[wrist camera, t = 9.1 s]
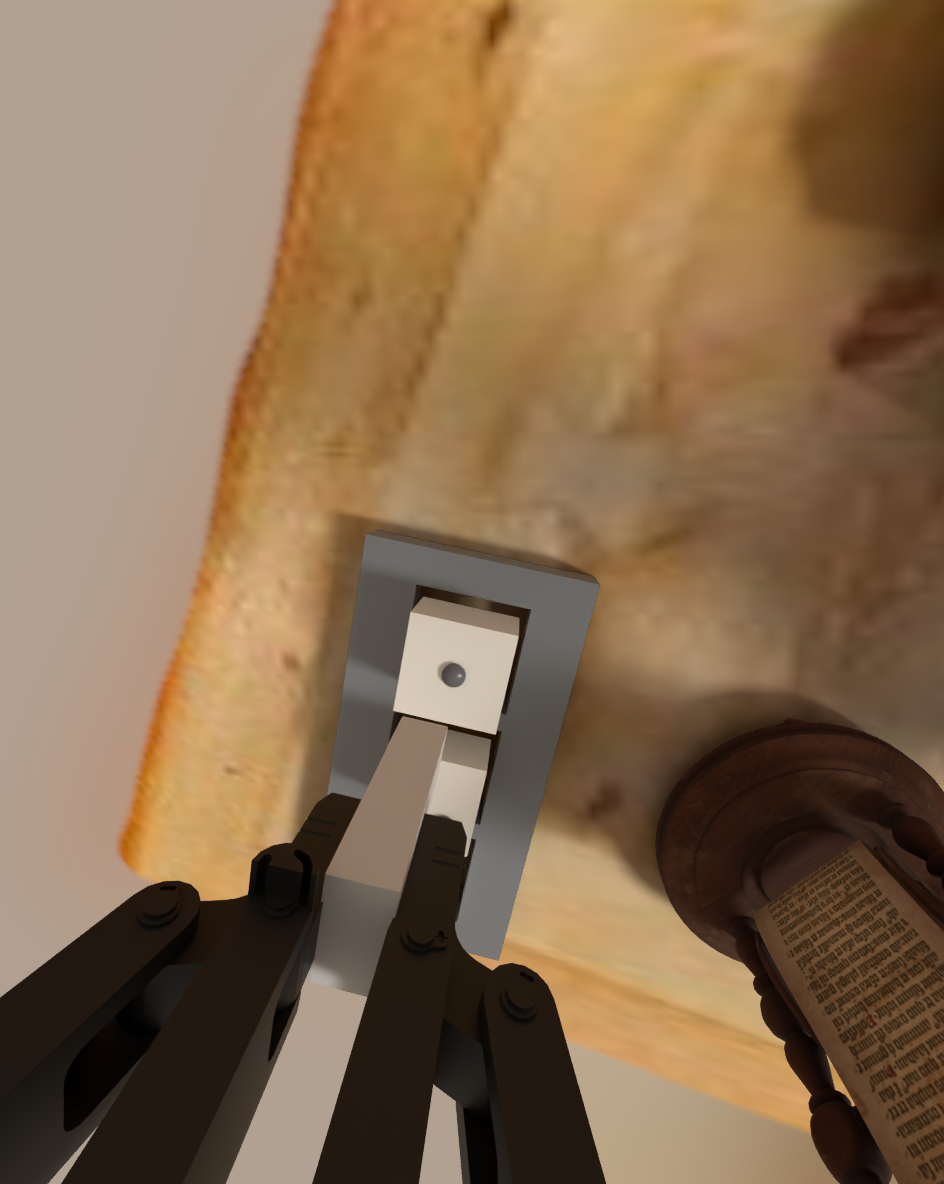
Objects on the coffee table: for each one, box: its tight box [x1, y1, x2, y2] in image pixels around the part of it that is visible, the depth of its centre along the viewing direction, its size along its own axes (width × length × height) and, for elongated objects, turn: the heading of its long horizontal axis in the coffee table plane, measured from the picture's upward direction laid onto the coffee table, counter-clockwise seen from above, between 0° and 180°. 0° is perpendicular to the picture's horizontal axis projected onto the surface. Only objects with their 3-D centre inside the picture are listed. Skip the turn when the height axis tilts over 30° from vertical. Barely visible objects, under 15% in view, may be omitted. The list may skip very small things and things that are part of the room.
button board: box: [327, 530, 600, 961], centre depth 29 cm, size 24×12×2 cm, turn 169°
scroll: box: [656, 718, 944, 1184], centre depth 19 cm, size 15×15×20 cm
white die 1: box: [393, 597, 519, 735], centre depth 24 cm, size 5×5×3 cm
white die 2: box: [386, 726, 491, 857], centre depth 26 cm, size 5×5×3 cm
